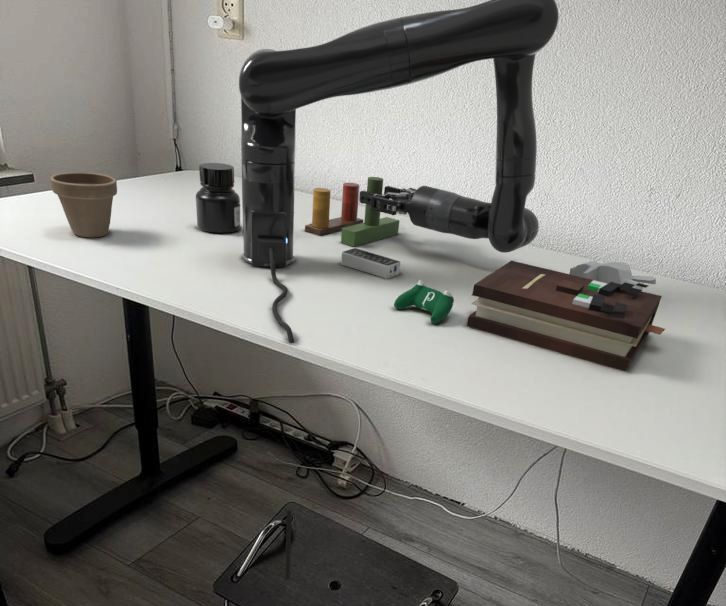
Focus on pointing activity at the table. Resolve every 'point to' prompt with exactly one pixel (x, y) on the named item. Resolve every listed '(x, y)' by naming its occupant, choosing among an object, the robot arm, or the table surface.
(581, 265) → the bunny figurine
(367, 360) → the table surface
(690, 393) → the table surface
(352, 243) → the green peg on base
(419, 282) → the gaming controller
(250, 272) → the table surface
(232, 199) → the ink bottle
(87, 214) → the flower pot
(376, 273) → the multiport hub
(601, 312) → the decorative book
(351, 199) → the rod stand
